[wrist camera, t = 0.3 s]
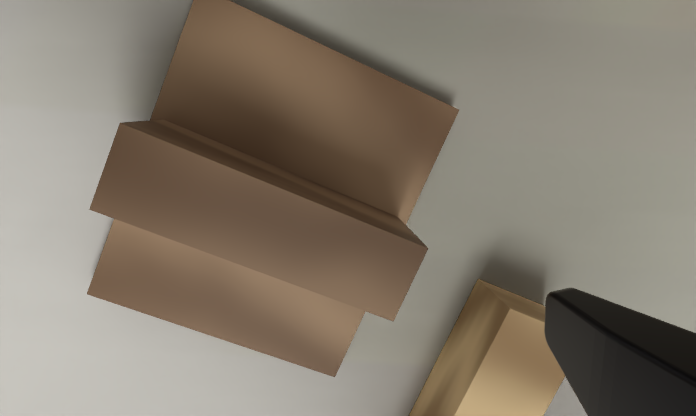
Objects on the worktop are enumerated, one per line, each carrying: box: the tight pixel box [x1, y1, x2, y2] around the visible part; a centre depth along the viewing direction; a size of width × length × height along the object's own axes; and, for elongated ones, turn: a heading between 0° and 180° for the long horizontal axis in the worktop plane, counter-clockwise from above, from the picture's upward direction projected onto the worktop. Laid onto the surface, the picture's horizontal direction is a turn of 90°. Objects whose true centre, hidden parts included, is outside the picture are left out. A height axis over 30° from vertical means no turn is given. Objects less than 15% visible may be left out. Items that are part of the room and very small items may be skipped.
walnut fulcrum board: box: [87, 0, 459, 377], centre depth 19 cm, size 14×12×6 cm
